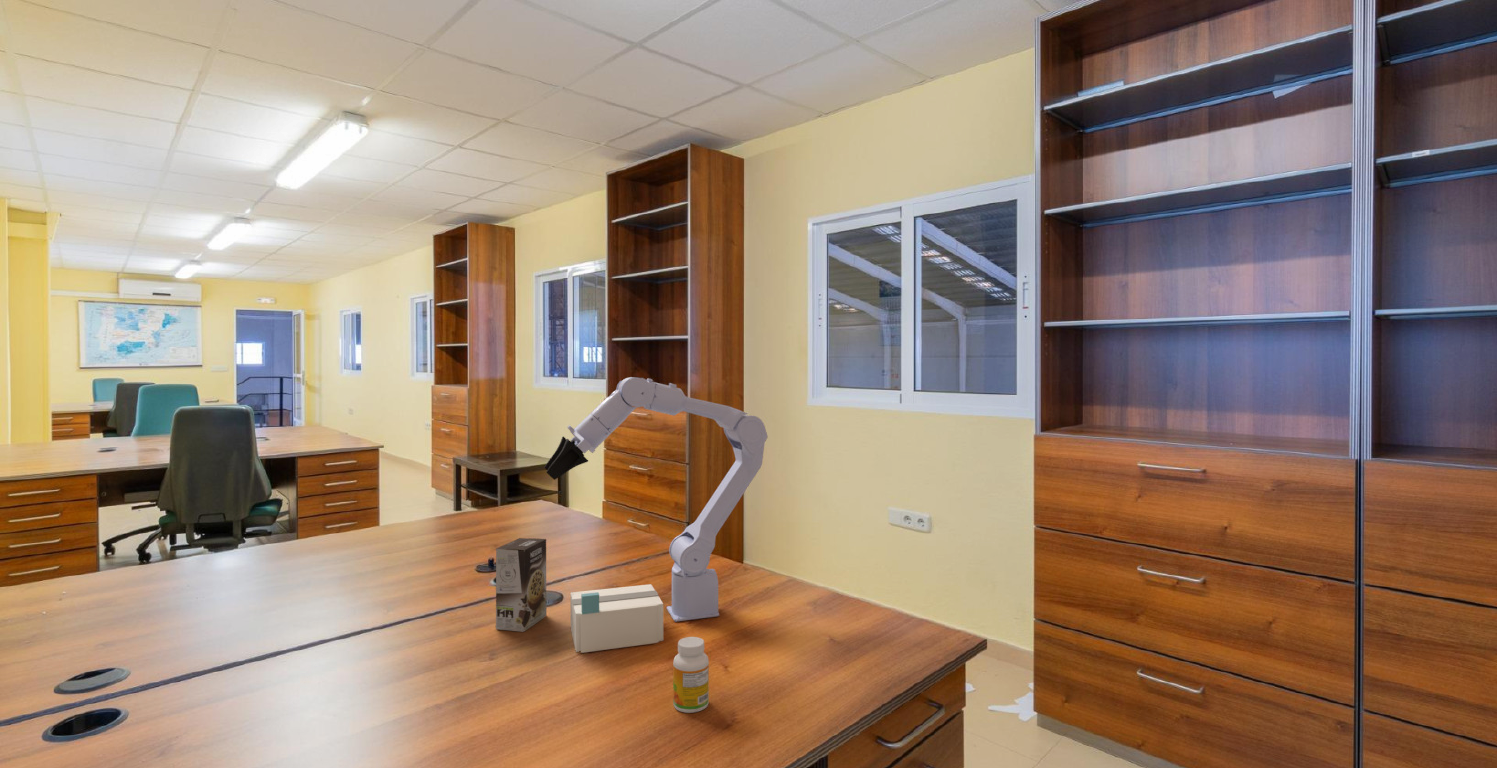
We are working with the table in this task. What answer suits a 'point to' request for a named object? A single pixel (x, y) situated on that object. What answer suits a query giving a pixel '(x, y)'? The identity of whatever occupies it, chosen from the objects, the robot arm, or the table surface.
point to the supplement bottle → (690, 676)
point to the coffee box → (520, 584)
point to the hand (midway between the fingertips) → (549, 473)
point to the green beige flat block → (616, 625)
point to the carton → (616, 605)
